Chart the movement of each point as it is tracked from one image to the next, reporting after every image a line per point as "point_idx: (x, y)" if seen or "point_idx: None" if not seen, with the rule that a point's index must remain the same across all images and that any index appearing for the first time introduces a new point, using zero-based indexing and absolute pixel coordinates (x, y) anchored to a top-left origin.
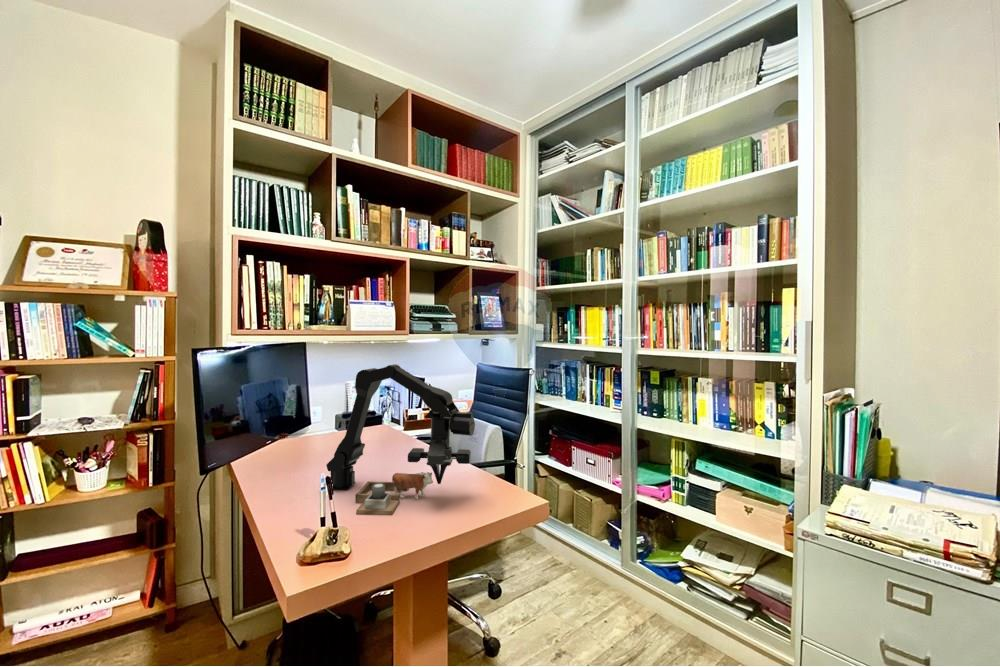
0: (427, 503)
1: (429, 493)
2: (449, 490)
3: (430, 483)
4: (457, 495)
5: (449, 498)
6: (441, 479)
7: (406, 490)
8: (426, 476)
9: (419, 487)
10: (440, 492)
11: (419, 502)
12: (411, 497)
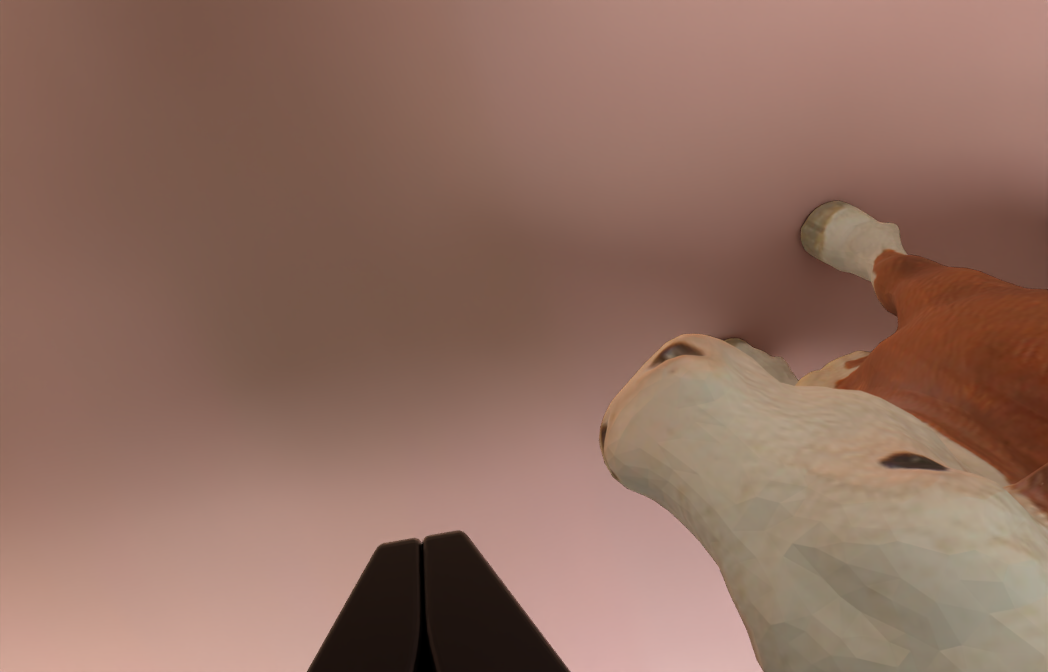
0: (575, 33)
1: None
2: None
3: (681, 338)
4: (78, 527)
5: (179, 371)
6: (321, 658)
7: None
8: (1018, 529)
9: (945, 304)
10: None
11: (759, 59)
12: None
